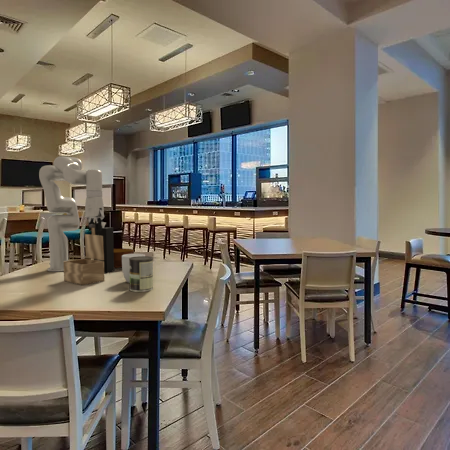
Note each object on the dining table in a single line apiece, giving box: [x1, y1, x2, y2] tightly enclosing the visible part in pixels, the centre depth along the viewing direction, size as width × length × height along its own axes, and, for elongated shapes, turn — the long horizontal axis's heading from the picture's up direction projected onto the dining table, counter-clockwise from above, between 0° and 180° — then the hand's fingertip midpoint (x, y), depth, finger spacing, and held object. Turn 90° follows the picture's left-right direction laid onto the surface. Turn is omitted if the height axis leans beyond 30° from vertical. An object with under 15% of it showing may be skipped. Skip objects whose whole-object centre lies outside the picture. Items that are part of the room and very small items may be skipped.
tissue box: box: [93, 221, 115, 274], centre depth 199 cm, size 8×8×28 cm
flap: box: [84, 223, 104, 260], centre depth 179 cm, size 15×18×2 cm
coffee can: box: [129, 255, 154, 293], centre depth 158 cm, size 10×10×14 cm
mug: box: [121, 253, 146, 284], centre depth 175 cm, size 15×11×13 cm
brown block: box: [114, 248, 135, 269], centre depth 215 cm, size 18×18×10 cm
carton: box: [63, 258, 105, 286], centre depth 176 cm, size 16×12×10 cm
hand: (95, 230), depth 180 cm, fingers closed on flap, 5 cm apart
